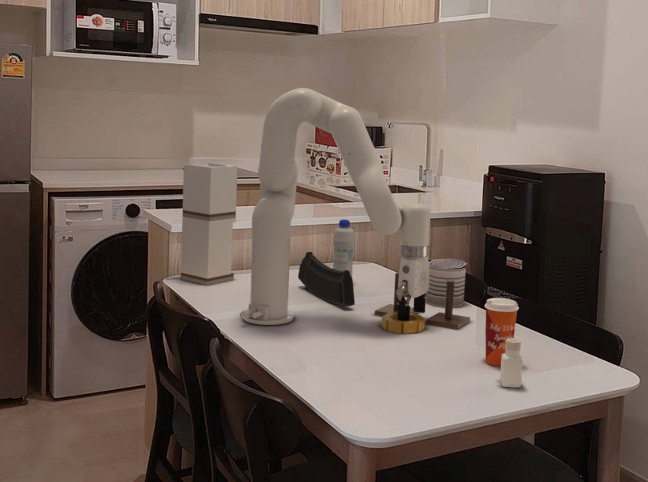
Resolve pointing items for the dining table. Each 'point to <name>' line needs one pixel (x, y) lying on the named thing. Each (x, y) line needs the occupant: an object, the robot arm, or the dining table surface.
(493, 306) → the paper cup
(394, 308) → the left peg
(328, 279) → the magazine
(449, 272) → the can
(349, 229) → the bottle
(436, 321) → the right peg
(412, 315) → the ring
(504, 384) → the salt shaker
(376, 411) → the dining table surface
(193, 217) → the banded square column
